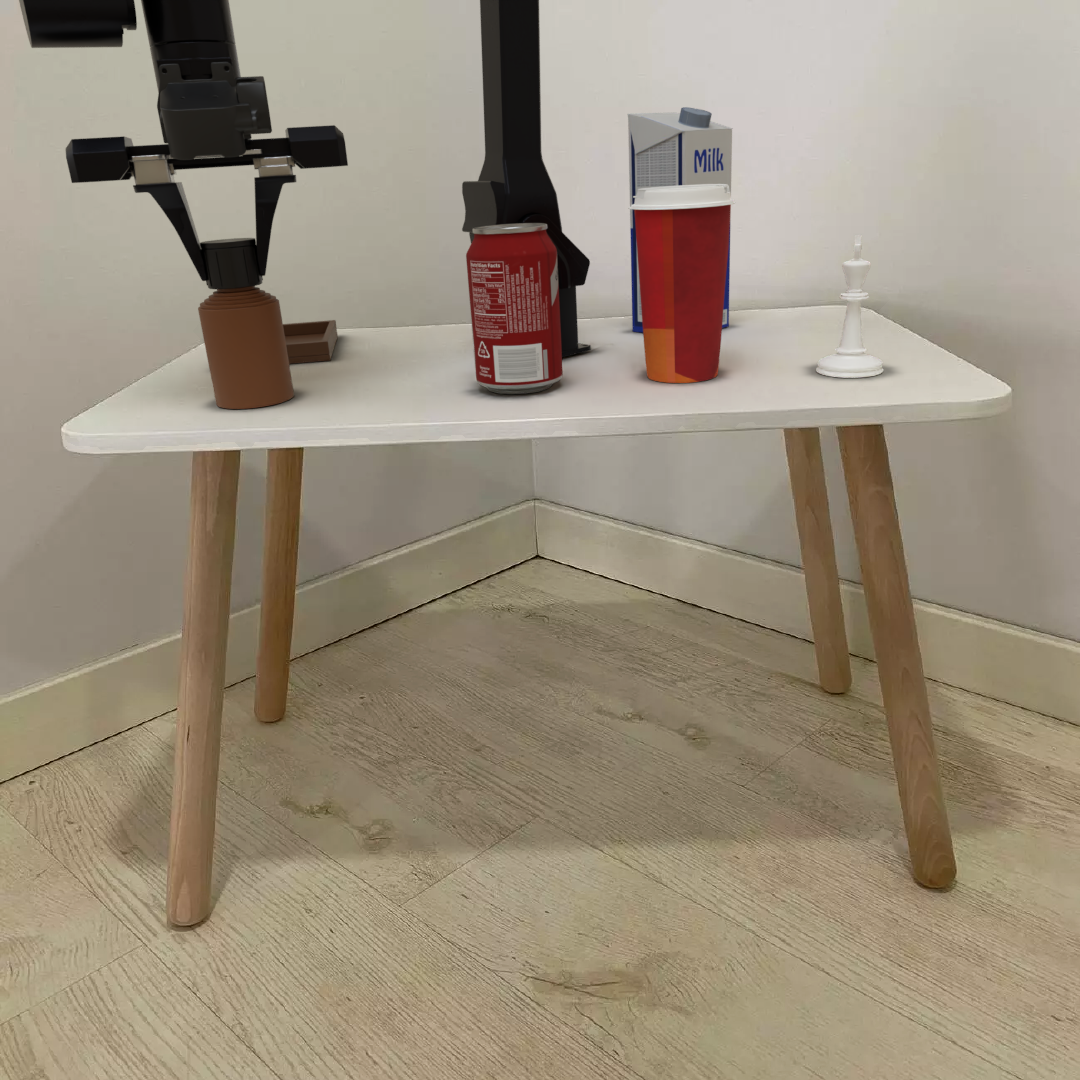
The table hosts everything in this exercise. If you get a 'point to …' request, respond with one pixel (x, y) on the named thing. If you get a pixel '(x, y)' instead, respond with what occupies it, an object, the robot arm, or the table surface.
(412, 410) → the table surface
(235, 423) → the table surface
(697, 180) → the milk carton
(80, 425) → the table surface
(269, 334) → the bottle
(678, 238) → the paper cup
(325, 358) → the tray
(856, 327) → the chess piece
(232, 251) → the cap
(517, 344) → the soda can
